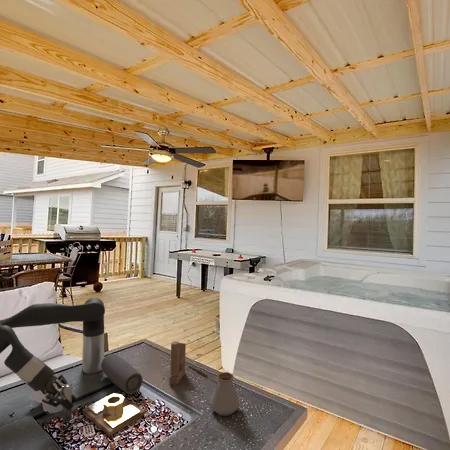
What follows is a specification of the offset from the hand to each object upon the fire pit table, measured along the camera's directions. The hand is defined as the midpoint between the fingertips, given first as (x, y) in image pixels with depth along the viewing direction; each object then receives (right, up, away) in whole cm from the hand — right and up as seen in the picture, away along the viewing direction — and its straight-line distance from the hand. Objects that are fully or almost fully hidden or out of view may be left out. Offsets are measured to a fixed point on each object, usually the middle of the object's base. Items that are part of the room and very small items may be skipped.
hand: (73, 404), depth 108 cm
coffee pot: (+49, -8, +11) cm, 50 cm away
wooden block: (+32, -6, +31) cm, 45 cm away
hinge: (+12, -5, +5) cm, 14 cm away
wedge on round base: (-13, -6, +10) cm, 18 cm away
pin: (-2, -5, 0) cm, 6 cm away
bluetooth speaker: (+8, -6, +25) cm, 27 cm away
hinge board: (+12, -7, +5) cm, 15 cm away
